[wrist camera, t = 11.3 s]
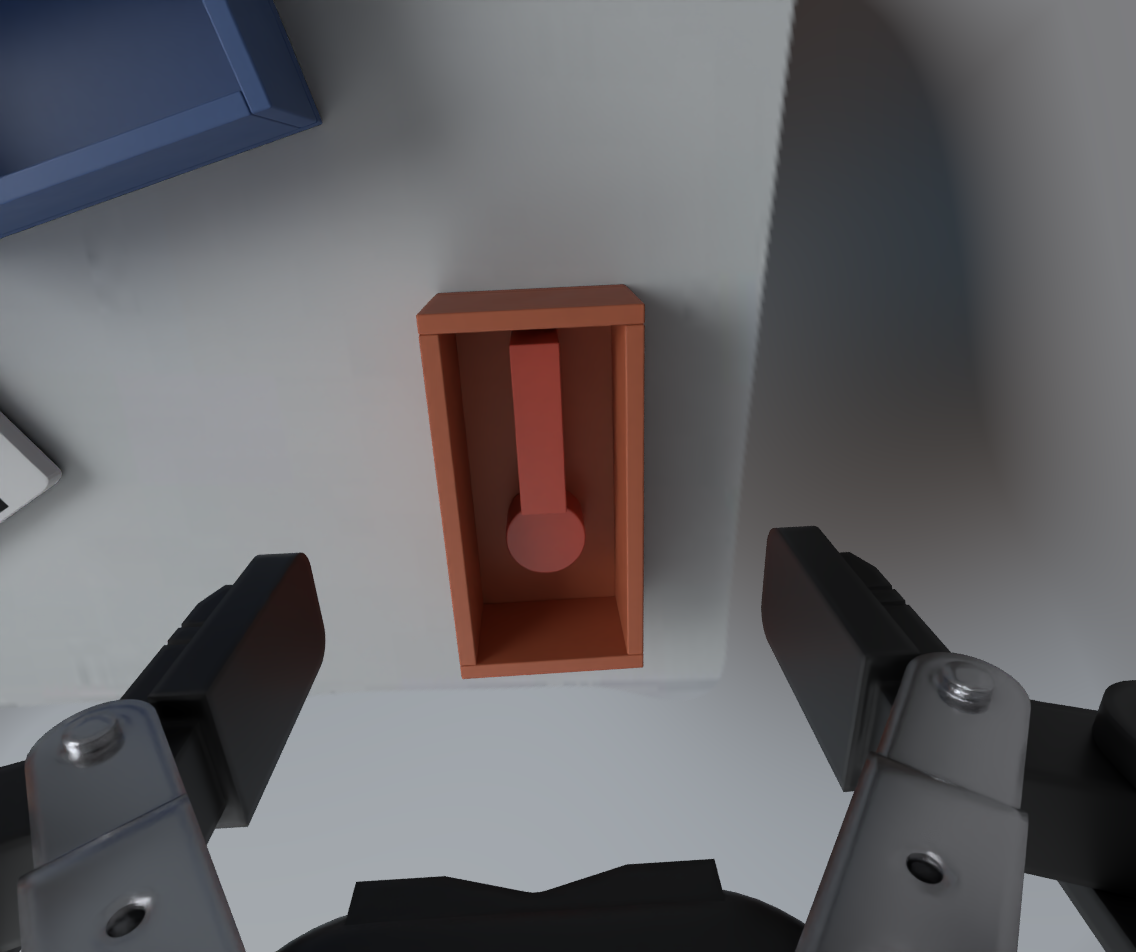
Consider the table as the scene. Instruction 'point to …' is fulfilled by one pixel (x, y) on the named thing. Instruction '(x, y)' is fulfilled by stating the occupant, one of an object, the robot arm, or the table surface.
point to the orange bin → (490, 477)
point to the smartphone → (21, 470)
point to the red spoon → (541, 459)
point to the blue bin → (135, 96)
